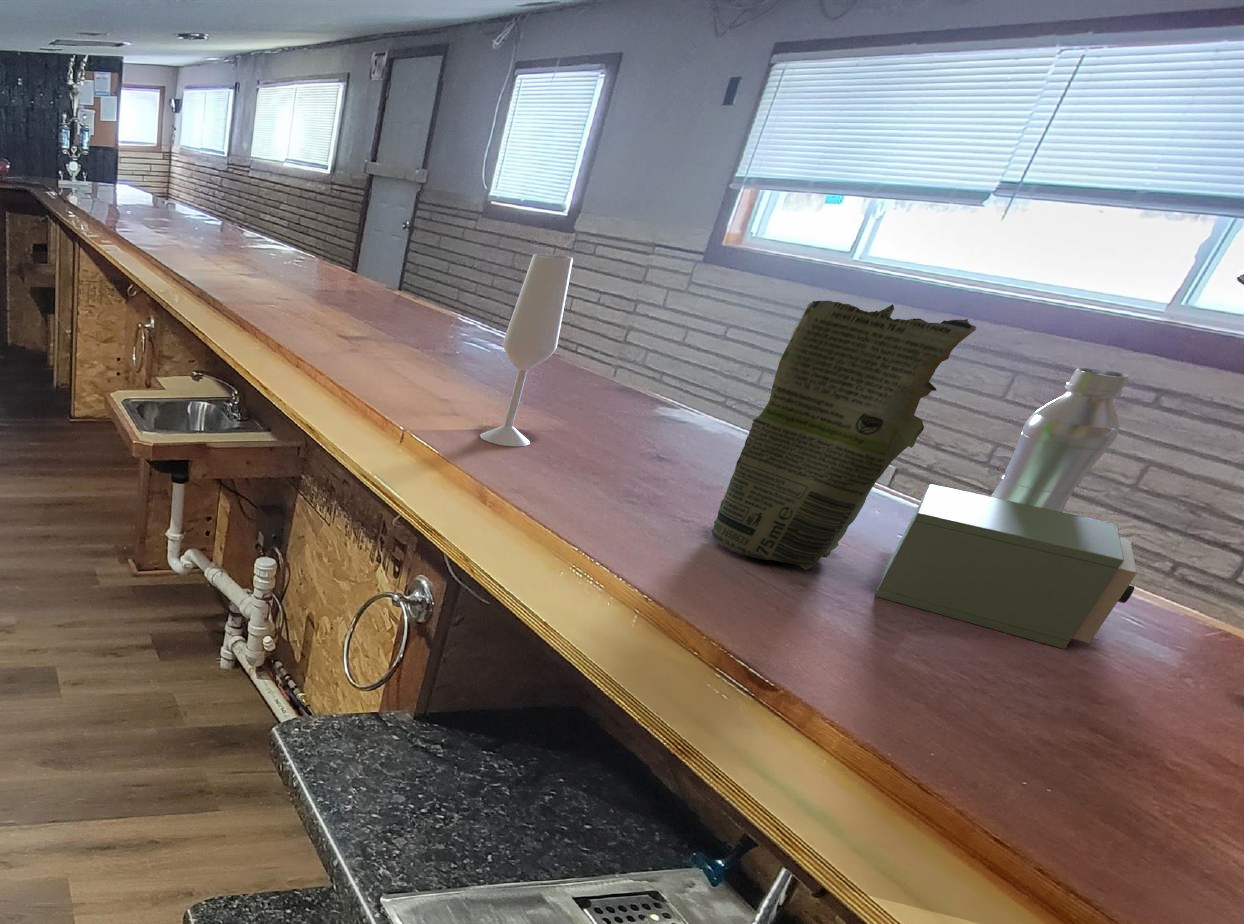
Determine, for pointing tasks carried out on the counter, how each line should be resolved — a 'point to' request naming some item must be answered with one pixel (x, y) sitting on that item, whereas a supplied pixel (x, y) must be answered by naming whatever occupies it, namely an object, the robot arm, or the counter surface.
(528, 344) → the champagne flute
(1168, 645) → the counter surface
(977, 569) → the cabinet
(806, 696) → the counter surface
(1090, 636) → the drawer
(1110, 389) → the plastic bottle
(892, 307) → the pouch
